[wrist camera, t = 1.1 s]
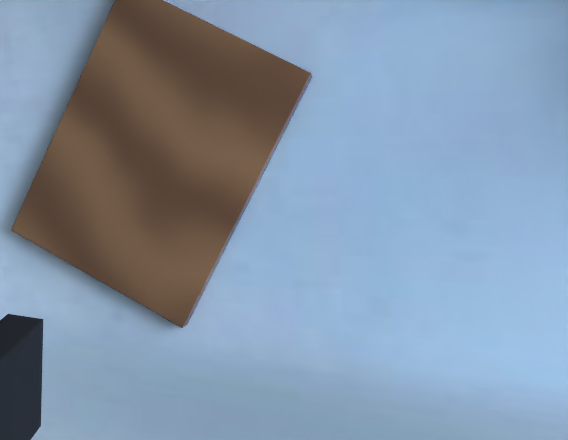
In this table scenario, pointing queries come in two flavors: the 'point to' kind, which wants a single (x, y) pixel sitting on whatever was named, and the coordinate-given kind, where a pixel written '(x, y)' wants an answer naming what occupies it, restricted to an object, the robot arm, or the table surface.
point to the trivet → (159, 154)
